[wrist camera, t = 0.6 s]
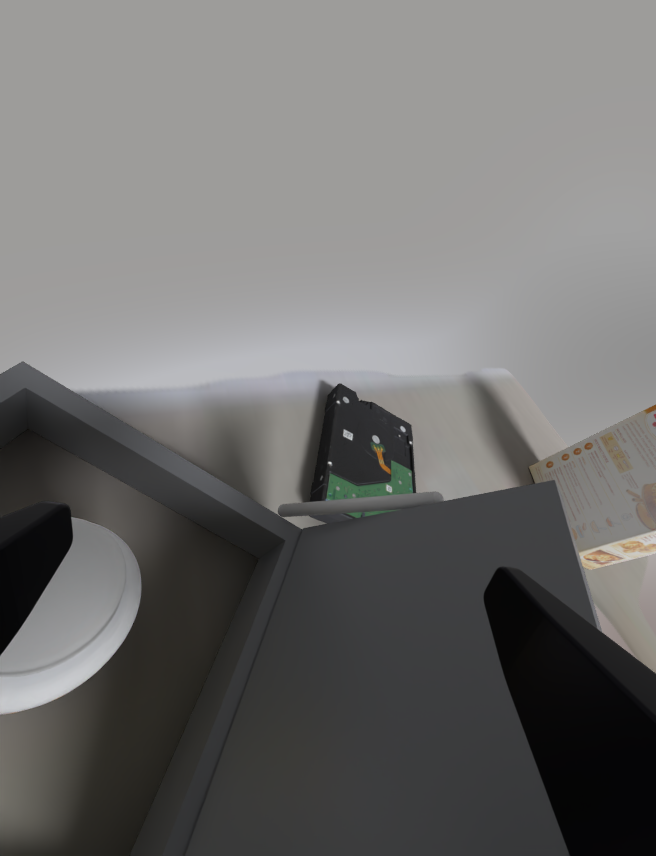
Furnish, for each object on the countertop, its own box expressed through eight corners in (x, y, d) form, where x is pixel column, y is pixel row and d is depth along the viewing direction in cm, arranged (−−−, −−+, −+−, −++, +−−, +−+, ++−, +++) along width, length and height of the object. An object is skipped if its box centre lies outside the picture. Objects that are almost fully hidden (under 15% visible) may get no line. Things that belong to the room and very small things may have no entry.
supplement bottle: (121, 567, 19) (162, 494, 12) (107, 690, 16) (150, 682, 10) (-16, 575, 16) (-62, 484, 9) (-64, 729, 13) (-178, 757, 6)
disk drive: (323, 396, 38) (303, 519, 28) (337, 380, 36) (322, 506, 26) (396, 436, 41) (402, 557, 31) (412, 423, 40) (424, 548, 30)
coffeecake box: (590, 571, 49) (786, 524, 36) (560, 557, 46) (759, 501, 33) (553, 481, 59) (696, 418, 46) (526, 465, 56) (670, 394, 43)
